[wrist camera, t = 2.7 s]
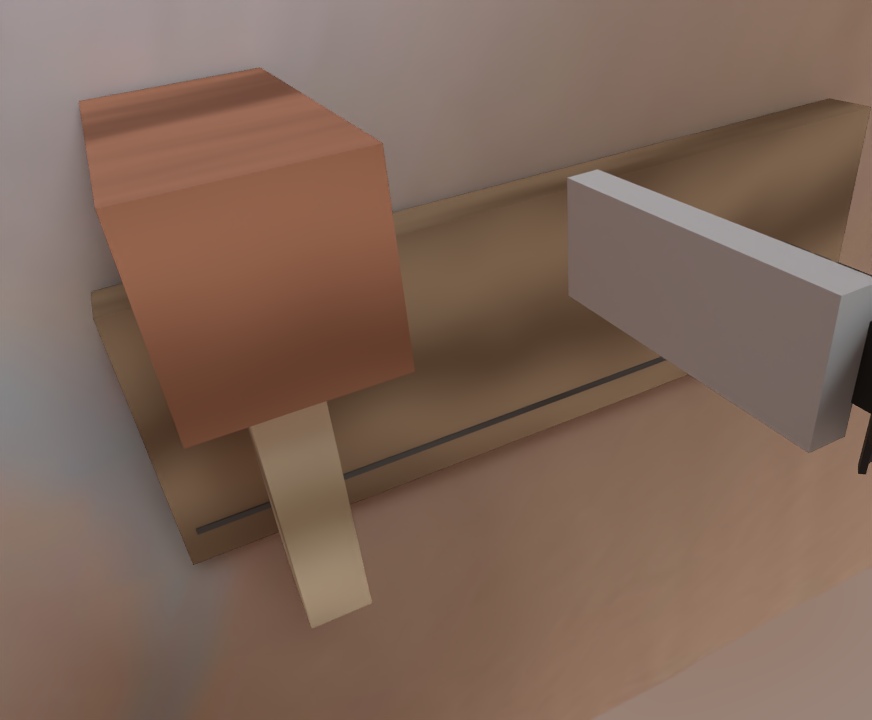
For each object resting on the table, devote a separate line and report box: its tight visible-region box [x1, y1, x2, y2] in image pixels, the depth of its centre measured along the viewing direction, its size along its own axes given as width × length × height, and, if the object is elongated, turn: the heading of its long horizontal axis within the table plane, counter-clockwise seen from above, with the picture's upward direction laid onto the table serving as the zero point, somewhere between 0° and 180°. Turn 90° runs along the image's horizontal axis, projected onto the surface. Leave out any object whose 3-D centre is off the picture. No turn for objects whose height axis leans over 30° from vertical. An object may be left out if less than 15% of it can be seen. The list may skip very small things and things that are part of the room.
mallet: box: [79, 68, 415, 629], centre depth 20 cm, size 15×5×10 cm, turn 7°
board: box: [91, 99, 871, 565], centre depth 28 cm, size 10×30×2 cm, turn 97°
